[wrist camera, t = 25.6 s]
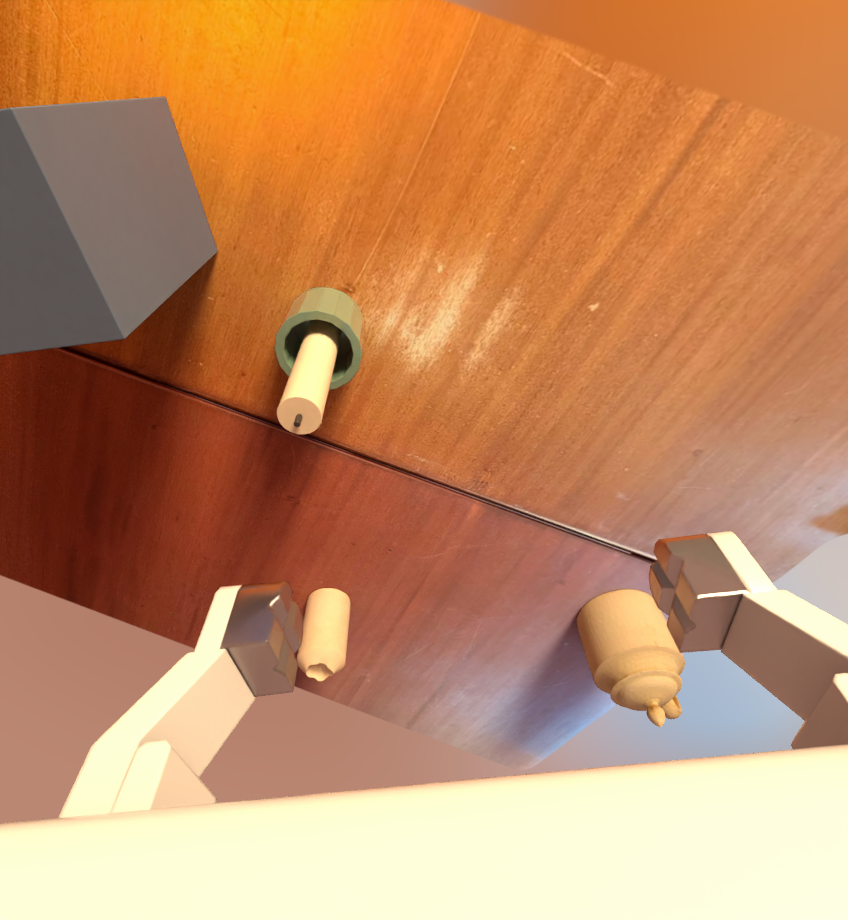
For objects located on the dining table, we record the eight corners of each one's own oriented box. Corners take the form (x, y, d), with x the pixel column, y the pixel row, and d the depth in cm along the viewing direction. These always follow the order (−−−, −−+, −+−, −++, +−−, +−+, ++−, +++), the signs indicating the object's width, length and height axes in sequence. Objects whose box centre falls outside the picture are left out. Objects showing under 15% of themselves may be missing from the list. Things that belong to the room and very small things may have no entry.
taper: (302, 320, 43) (264, 414, 31) (332, 308, 43) (305, 398, 31) (318, 349, 45) (288, 449, 33) (347, 337, 44) (328, 434, 32)
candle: (350, 587, 65) (343, 660, 56) (351, 615, 68) (344, 687, 60) (305, 586, 64) (292, 659, 56) (308, 614, 67) (296, 687, 59)
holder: (278, 292, 42) (263, 316, 38) (357, 281, 42) (352, 305, 38) (298, 364, 46) (288, 395, 42) (371, 355, 46) (368, 385, 42)
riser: (21, 117, 35) (-223, 142, 21) (165, 96, 34) (11, 107, 21) (94, 268, 41) (-60, 363, 27) (218, 251, 40) (125, 339, 27)
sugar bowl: (697, 606, 69) (760, 717, 57) (645, 651, 75) (692, 761, 63) (607, 579, 65) (654, 692, 53) (559, 629, 71) (592, 741, 59)
